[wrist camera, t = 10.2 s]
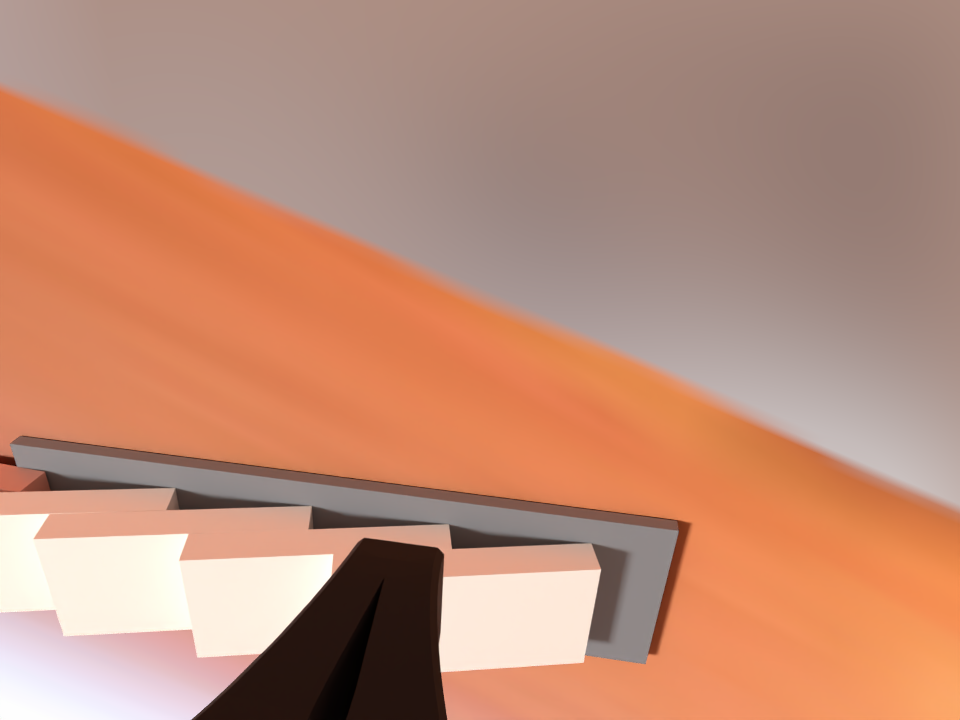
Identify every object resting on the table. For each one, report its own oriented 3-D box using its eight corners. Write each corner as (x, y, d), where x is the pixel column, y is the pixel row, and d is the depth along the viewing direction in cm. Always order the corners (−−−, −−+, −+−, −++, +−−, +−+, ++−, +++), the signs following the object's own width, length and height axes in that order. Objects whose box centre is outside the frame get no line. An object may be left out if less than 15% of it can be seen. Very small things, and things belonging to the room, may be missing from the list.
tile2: (452, 549, 22) (178, 560, 21) (447, 642, 24) (197, 657, 23) (448, 524, 23) (188, 534, 22) (444, 615, 26) (205, 629, 24)
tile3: (308, 529, 23) (33, 539, 22) (315, 622, 25) (63, 635, 24) (311, 505, 24) (49, 514, 23) (318, 597, 26) (77, 608, 25)
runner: (676, 520, 23) (678, 531, 22) (644, 652, 26) (645, 664, 25) (19, 436, 25) (9, 443, 24) (59, 567, 28) (51, 576, 27)
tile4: (166, 510, 23) (-113, 518, 22) (183, 603, 25) (-71, 615, 24) (175, 487, 24) (-90, 494, 23) (191, 579, 26) (-52, 589, 25)
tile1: (601, 569, 22) (330, 582, 21) (583, 662, 24) (336, 679, 23) (591, 543, 23) (333, 553, 22) (575, 634, 25) (338, 649, 24)
